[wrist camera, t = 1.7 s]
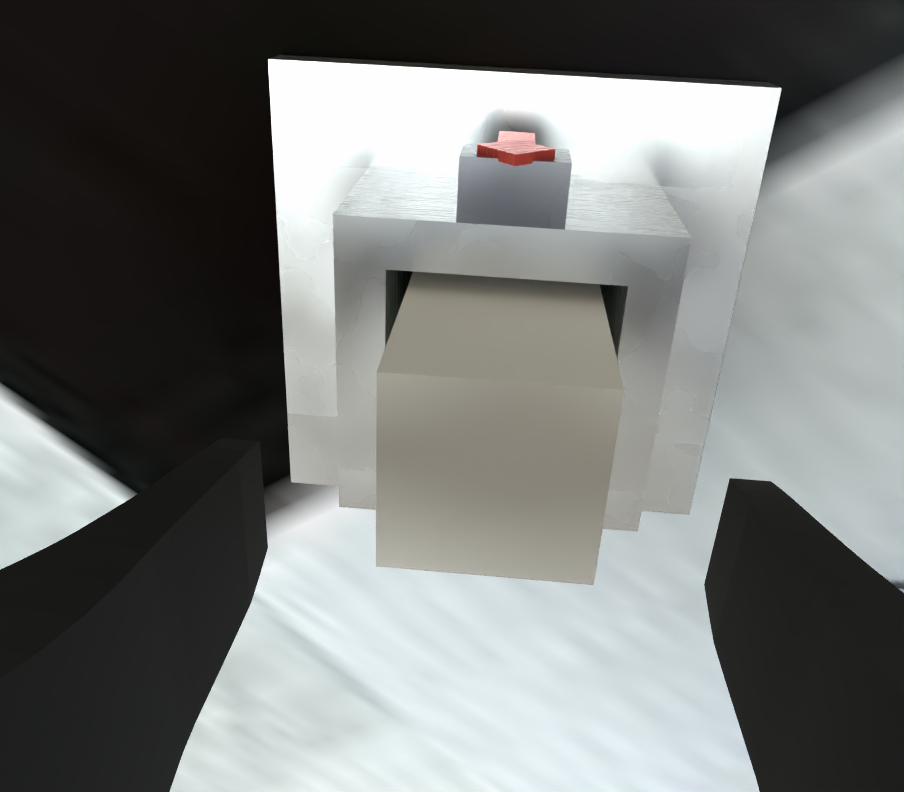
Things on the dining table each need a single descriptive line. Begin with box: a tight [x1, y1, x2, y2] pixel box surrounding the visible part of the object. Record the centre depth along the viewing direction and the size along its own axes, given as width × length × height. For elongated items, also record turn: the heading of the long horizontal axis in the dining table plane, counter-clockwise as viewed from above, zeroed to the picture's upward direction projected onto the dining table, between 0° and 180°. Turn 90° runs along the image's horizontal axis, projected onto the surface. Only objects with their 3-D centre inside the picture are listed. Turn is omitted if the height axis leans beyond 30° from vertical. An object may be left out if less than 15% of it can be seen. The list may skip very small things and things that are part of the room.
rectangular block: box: [376, 271, 624, 585], centre depth 17 cm, size 4×4×8 cm
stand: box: [268, 55, 782, 531], centre depth 19 cm, size 11×11×5 cm
